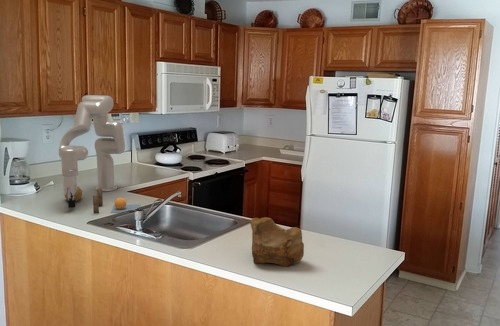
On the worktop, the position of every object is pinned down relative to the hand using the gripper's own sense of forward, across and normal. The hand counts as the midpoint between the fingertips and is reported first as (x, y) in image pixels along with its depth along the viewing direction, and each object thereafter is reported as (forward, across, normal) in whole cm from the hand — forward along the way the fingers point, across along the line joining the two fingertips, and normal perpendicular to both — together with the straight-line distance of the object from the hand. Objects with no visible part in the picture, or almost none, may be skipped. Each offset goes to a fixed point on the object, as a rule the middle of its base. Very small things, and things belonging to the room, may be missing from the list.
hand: (72, 207), depth 241 cm
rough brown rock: (+2, +78, +88) cm, 117 cm away
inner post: (+2, -6, +13) cm, 15 cm away
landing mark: (+2, 0, +27) cm, 27 cm away
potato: (+2, -19, -3) cm, 19 cm away
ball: (-2, +1, +24) cm, 24 cm away
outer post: (+2, +6, +13) cm, 15 cm away
